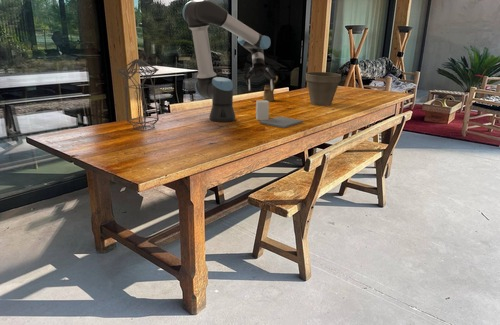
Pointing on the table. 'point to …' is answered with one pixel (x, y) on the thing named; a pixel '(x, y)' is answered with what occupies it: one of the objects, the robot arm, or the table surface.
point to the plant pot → (322, 87)
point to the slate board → (281, 122)
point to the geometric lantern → (139, 90)
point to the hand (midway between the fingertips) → (260, 89)
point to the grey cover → (262, 110)
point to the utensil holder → (269, 92)
